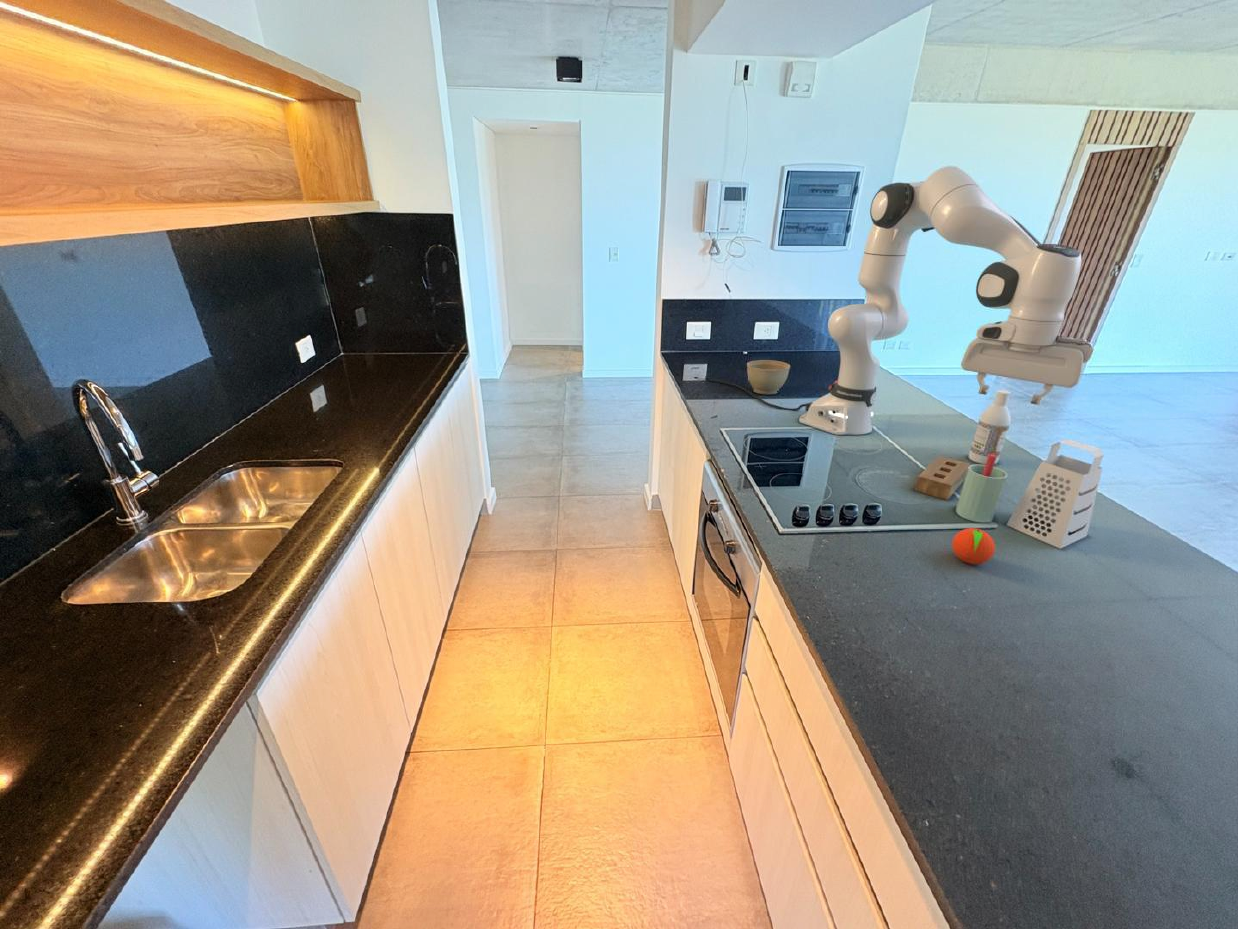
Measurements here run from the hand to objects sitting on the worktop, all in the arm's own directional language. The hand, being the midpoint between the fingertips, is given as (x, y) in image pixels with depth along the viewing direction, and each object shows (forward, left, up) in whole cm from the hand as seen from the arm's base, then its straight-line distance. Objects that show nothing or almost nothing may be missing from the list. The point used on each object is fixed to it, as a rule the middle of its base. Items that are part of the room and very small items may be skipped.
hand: (1008, 398), depth 112 cm
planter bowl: (-83, +50, -27) cm, 101 cm away
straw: (+1, -3, -26) cm, 26 cm away
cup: (+1, -3, -27) cm, 27 cm away
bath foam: (-5, +33, -27) cm, 43 cm away
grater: (+14, 0, -27) cm, 30 cm away
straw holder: (-9, +9, -27) cm, 30 cm away
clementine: (+5, -25, -27) cm, 37 cm away
